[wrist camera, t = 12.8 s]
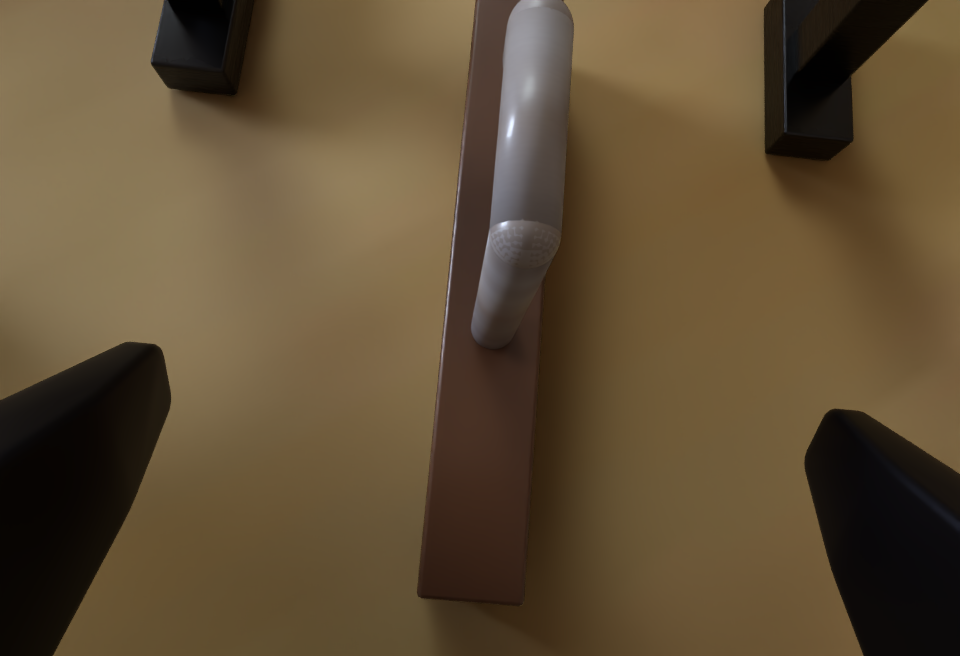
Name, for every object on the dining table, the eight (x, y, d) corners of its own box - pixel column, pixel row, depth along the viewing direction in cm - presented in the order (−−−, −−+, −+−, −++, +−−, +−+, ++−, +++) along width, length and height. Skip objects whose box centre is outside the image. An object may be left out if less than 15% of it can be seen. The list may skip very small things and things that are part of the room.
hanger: (509, 584, 13) (592, 717, 6) (420, 577, 13) (394, 703, 6) (546, 57, 16) (636, -299, 9) (472, 50, 16) (498, -317, 9)
